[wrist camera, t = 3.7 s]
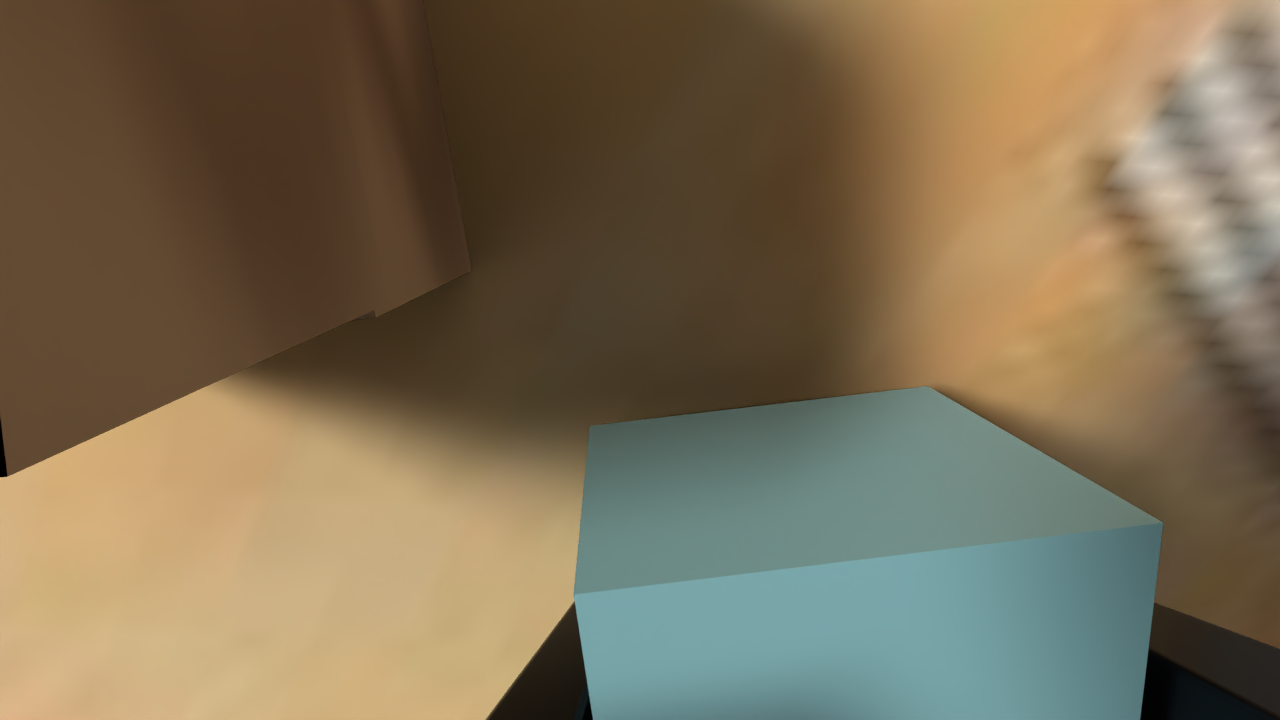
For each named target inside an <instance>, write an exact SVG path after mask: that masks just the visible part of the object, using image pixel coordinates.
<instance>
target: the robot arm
mask: <svg viewBox="0 0 1280 720" xmlns="http://www.w3.org/2000/svg"><path fill="white" fill-rule="evenodd" d="M486 720H593V717H592V710H591V704H590V697H589V691H588V684H587V678H586V671H585V665H584V658H583V652H582V645H581V639H580V632H579V626H578V619H577V613H576V606H575V601H574V603H573V604H572V605H571V607H570V608H569V609H568V611H567V612H566V613H565V615H564V616H563V617H562V619H561V620H560V621H559V623H558V624H557V625H556V627H555V628H554V629H553V631H552V632H551V633H550V635H549V636H548V637H547V639H546V640H545V641H544V643H543V644H542V645H541V647H540V648H539V649H538V651H537V652H536V653H535V655H534V656H533V657H532V659H531V660H530V661H529V663H528V664H527V665H526V667H525V668H524V669H523V671H522V672H521V673H520V675H519V676H518V677H517V679H516V680H515V681H514V682H513V684H512V685H511V686H510V688H509V689H508V690H507V692H506V693H505V694H504V696H503V697H502V698H501V700H500V701H499V702H498V704H497V705H496V706H495V708H494V709H493V710H492V712H491V713H490V714H489V716H488V717H487V718H486ZM1140 720H1280V649H1278V648H1276V647H1273V646H1270V645H1267V644H1265V643H1262V642H1259V641H1257V640H1254V639H1251V638H1248V637H1246V636H1243V635H1240V634H1238V633H1235V632H1232V631H1230V630H1227V629H1224V628H1221V627H1219V626H1216V625H1213V624H1211V623H1208V622H1205V621H1203V620H1200V619H1197V618H1195V617H1192V616H1189V615H1186V614H1184V613H1181V612H1178V611H1176V610H1173V609H1170V608H1168V607H1165V606H1162V605H1159V604H1157V603H1154V606H1153V615H1152V623H1151V632H1150V640H1149V649H1148V657H1147V666H1146V674H1145V683H1144V691H1143V700H1142V708H1141V717H1140Z"/></svg>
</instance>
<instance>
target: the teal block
mask: <svg viewBox="0 0 1280 720" xmlns="http://www.w3.org/2000/svg"><path fill="white" fill-rule="evenodd" d="M1162 530H1163V522H1161V521H1160V520H1158V519H1156V518H1154V517H1153V516H1151V515H1149V514H1148V513H1146V512H1144V511H1142V510H1141V509H1139V508H1137V507H1136V506H1134V505H1132V504H1130V503H1129V502H1127V501H1125V500H1123V499H1122V498H1120V497H1118V496H1117V495H1115V494H1113V493H1111V492H1110V491H1108V490H1106V489H1104V488H1103V487H1101V486H1099V485H1098V484H1096V483H1094V482H1092V481H1091V480H1089V479H1087V478H1085V477H1084V476H1082V475H1080V474H1079V473H1077V472H1075V471H1073V470H1072V469H1070V468H1068V467H1066V466H1065V465H1063V464H1061V463H1060V462H1058V461H1056V460H1054V459H1053V458H1051V457H1049V456H1048V455H1046V454H1044V453H1042V452H1041V451H1039V450H1037V449H1035V448H1034V447H1032V446H1030V445H1029V444H1027V443H1025V442H1023V441H1022V440H1020V439H1018V438H1016V437H1015V436H1013V435H1011V434H1010V433H1008V432H1006V431H1004V430H1003V429H1001V428H999V427H997V426H996V425H994V424H992V423H991V422H989V421H987V420H985V419H984V418H982V417H980V416H979V415H977V414H975V413H973V412H972V411H970V410H968V409H966V408H965V407H963V406H961V405H960V404H958V403H956V402H954V401H953V400H951V399H949V398H947V397H946V396H944V395H942V394H941V393H939V392H937V391H935V390H934V389H932V388H930V387H928V386H925V387H916V388H908V389H899V390H891V391H882V392H874V393H865V394H857V395H848V396H840V397H831V398H823V399H814V400H805V401H797V402H788V403H780V404H771V405H763V406H754V407H746V408H737V409H729V410H720V411H712V412H703V413H695V414H686V415H678V416H669V417H661V418H652V419H644V420H635V421H627V422H618V423H610V424H601V425H592V426H590V427H589V438H588V449H587V459H586V470H585V480H584V491H583V502H582V512H581V523H580V533H579V544H578V555H577V565H576V576H575V586H574V600H575V606H576V613H577V619H578V626H579V632H580V639H581V645H582V652H583V658H584V665H585V671H586V678H587V684H588V691H589V697H590V704H591V710H592V717H593V720H1140V717H1141V708H1142V700H1143V691H1144V683H1145V674H1146V666H1147V657H1148V649H1149V640H1150V632H1151V623H1152V615H1153V606H1154V598H1155V589H1156V581H1157V572H1158V564H1159V555H1160V547H1161V538H1162Z"/></svg>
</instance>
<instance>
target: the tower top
mask: <svg viewBox="0 0 1280 720" xmlns="http://www.w3.org/2000/svg"><path fill="white" fill-rule="evenodd" d="M386 304H389V300H388V295H387V291H386V286H385V282H384V277H383V272H382V268H381V263H380V258H379V254H378V249H377V245H376V240H375V235H374V231H373V226H372V222H371V217H370V212H369V208H368V203H367V198H366V194H365V189H364V185H363V180H362V175H361V171H360V166H359V161H358V157H357V152H356V148H355V143H354V138H353V134H352V129H351V124H350V120H349V115H348V111H347V106H346V101H345V97H344V92H343V88H342V83H341V78H340V74H339V69H338V64H337V60H336V55H335V51H334V46H333V41H332V37H331V32H330V27H329V23H328V18H327V14H326V9H325V4H324V0H0V477H7V476H10V475H12V474H14V473H16V472H18V471H21V470H23V469H25V468H27V467H30V466H32V465H34V464H36V463H38V462H41V461H43V460H45V459H47V458H49V457H52V456H54V455H56V454H58V453H60V452H63V451H65V450H67V449H69V448H71V447H74V446H76V445H78V444H80V443H82V442H85V441H87V440H89V439H91V438H93V437H96V436H98V435H100V434H102V433H104V432H107V431H109V430H111V429H113V428H115V427H118V426H120V425H122V424H124V423H126V422H129V421H131V420H133V419H135V418H137V417H140V416H142V415H144V414H146V413H148V412H151V411H153V410H155V409H157V408H160V407H162V406H164V405H166V404H168V403H171V402H173V401H175V400H177V399H179V398H182V397H184V396H186V395H188V394H190V393H193V392H195V391H197V390H199V389H201V388H204V387H206V386H208V385H210V384H212V383H215V382H217V381H219V380H221V379H223V378H226V377H228V376H230V375H232V374H234V373H237V372H239V371H241V370H243V369H245V368H248V367H250V366H252V365H254V364H256V363H259V362H261V361H263V360H265V359H267V358H270V357H272V356H274V355H276V354H278V353H281V352H283V351H285V350H287V349H290V348H292V347H294V346H296V345H298V344H301V343H303V342H305V341H307V340H309V339H312V338H314V337H316V336H318V335H320V334H323V333H325V332H327V331H329V330H331V329H334V328H336V327H338V326H340V325H342V324H345V323H347V322H349V321H351V320H353V319H356V318H358V317H360V316H362V315H364V314H367V313H369V312H371V311H373V310H375V309H378V308H380V307H382V306H384V305H386Z"/></svg>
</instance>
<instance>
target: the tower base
mask: <svg viewBox="0 0 1280 720" xmlns="http://www.w3.org/2000/svg"><path fill="white" fill-rule="evenodd" d="M324 4H325V9H326V14H327V18H328V23H329V27H330V32H331V37H332V41H333V46H334V51H335V55H336V60H337V64H338V69H339V74H340V78H341V83H342V88H343V92H344V97H345V101H346V106H347V111H348V115H349V120H350V124H351V129H352V134H353V138H354V143H355V148H356V152H357V157H358V161H359V166H360V171H361V175H362V180H363V185H364V189H365V194H366V198H367V203H368V208H369V212H370V217H371V222H372V226H373V231H374V235H375V240H376V245H377V249H378V254H379V258H380V263H381V268H382V272H383V277H384V282H385V286H386V291H387V295H388V300H389V304H386V305H384V306H382V307H380V308H378V309H375V310H373V311H371V312H369V313H367V314H364V315H362V316H360V317H358V318H356V319H353V320H360V319H369V318H376V317H378V316H380V315H382V314H384V313H386V312H388V311H391V310H393V309H395V308H397V307H399V306H401V305H403V304H405V303H407V302H409V301H411V300H413V299H415V298H417V297H419V296H421V295H423V294H425V293H427V292H429V291H431V290H433V289H435V288H437V287H439V286H441V285H443V284H445V283H447V282H449V281H451V280H454V279H456V278H458V277H460V276H462V275H464V274H466V273H468V272H470V271H472V269H471V264H470V258H469V253H468V247H467V242H466V236H465V230H464V225H463V219H462V214H461V208H460V203H459V197H458V192H457V186H456V181H455V175H454V170H453V164H452V159H451V153H450V148H449V142H448V137H447V131H446V126H445V120H444V114H443V109H442V103H441V98H440V92H439V87H438V81H437V76H436V70H435V65H434V59H433V54H432V48H431V43H430V37H429V32H428V26H427V21H426V15H425V10H424V4H423V0H324ZM351 321H352V320H351Z"/></svg>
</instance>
